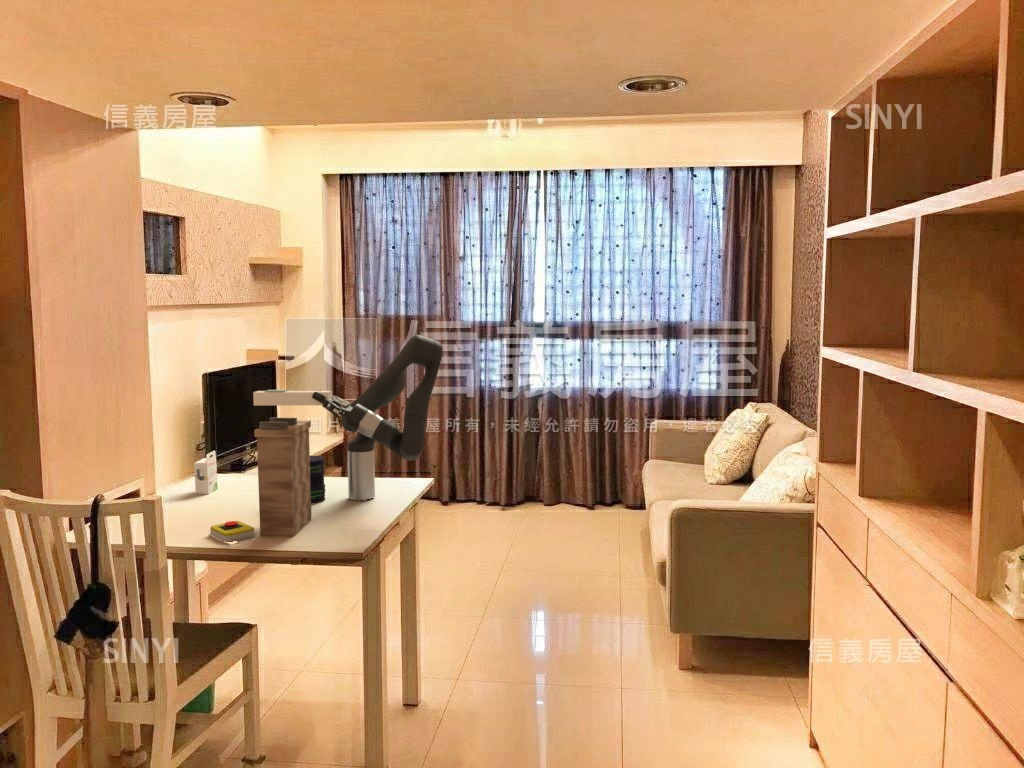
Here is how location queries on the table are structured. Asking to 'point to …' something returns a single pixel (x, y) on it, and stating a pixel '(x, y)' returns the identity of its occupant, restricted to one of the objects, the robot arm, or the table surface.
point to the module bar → (287, 397)
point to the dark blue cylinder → (317, 479)
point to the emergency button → (233, 532)
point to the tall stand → (283, 476)
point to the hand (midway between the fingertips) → (315, 393)
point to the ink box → (206, 474)
